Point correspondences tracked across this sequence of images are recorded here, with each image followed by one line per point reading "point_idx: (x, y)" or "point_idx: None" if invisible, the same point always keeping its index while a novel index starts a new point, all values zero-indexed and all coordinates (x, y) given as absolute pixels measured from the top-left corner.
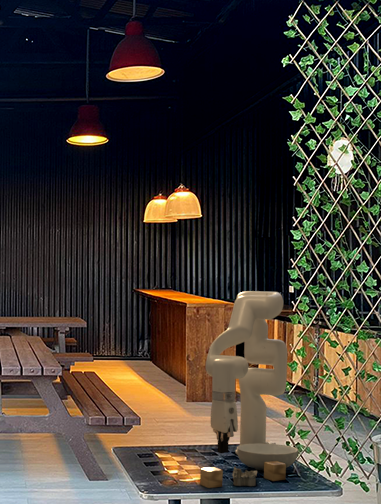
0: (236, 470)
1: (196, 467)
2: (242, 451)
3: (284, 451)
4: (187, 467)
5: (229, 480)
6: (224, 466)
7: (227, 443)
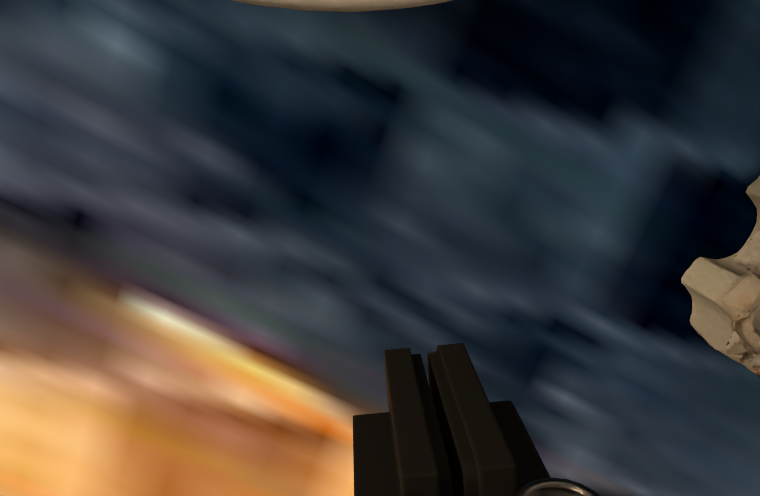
0: (756, 340)
1: (61, 401)
2: (394, 8)
3: None
4: (43, 475)
5: (685, 369)
6: (70, 98)
7: (543, 468)
